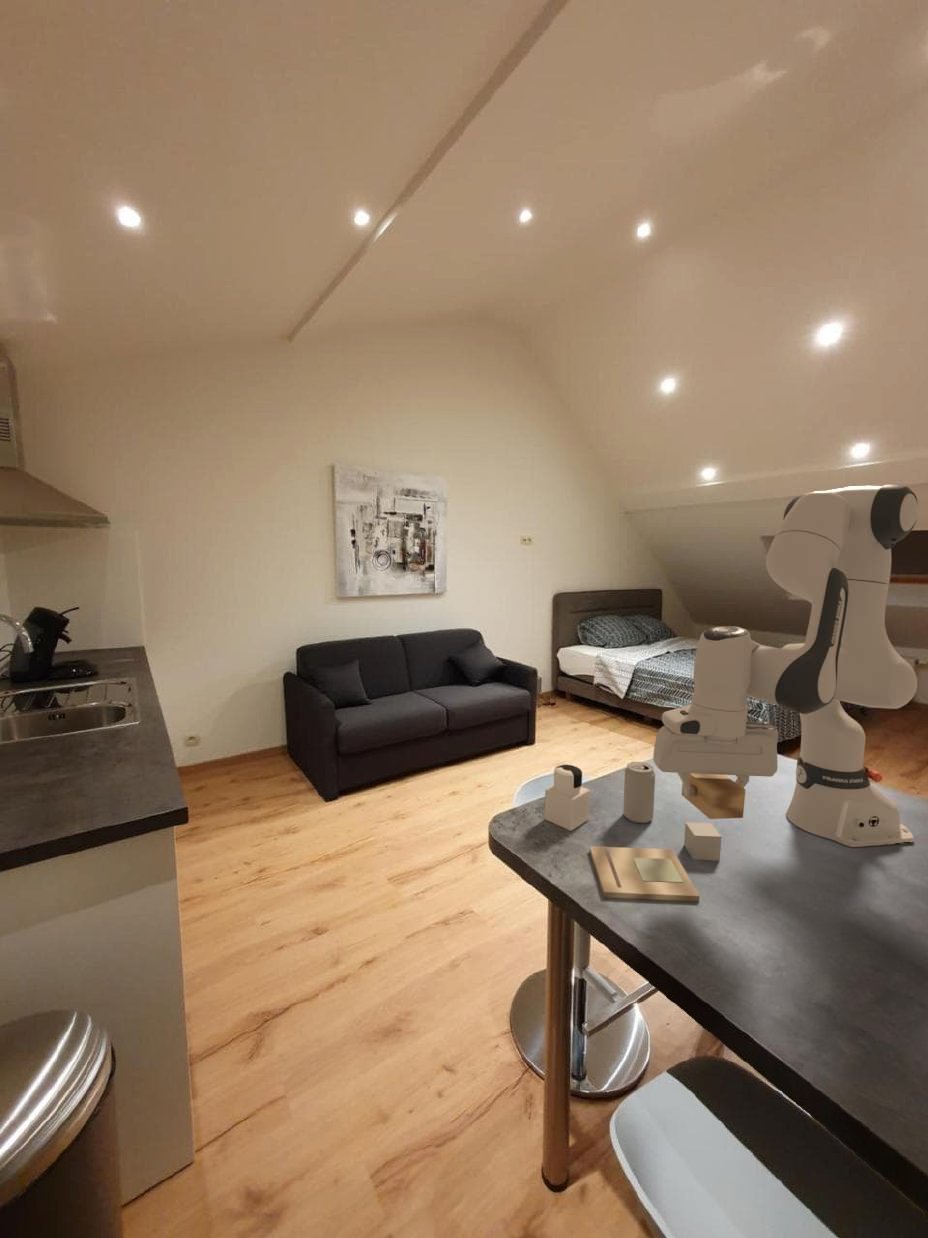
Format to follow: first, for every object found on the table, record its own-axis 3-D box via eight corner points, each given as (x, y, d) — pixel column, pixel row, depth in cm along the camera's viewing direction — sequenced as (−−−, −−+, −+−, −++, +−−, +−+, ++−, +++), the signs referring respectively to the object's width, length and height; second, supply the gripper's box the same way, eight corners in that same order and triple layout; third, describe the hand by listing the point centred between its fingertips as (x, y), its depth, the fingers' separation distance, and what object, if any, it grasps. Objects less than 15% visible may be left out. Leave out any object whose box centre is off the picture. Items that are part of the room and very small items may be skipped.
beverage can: (655, 826, 114) (657, 773, 112) (624, 823, 115) (626, 771, 113) (650, 812, 120) (653, 761, 118) (621, 809, 121) (623, 759, 119)
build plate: (672, 854, 103) (672, 849, 103) (699, 901, 89) (699, 895, 89) (589, 851, 104) (589, 846, 104) (603, 897, 90) (604, 891, 90)
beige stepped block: (562, 808, 121) (563, 759, 120) (589, 820, 116) (591, 768, 115) (543, 819, 116) (545, 768, 115) (571, 832, 111) (572, 778, 110)
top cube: (709, 846, 106) (710, 823, 106) (719, 861, 101) (721, 836, 101) (684, 845, 107) (685, 822, 106) (693, 860, 102) (694, 835, 101)
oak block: (712, 793, 98) (714, 768, 97) (742, 817, 89) (745, 789, 88) (681, 794, 97) (683, 768, 96) (709, 819, 88) (711, 790, 88)
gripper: (769, 717, 94) (762, 791, 95) (653, 712, 95) (648, 786, 96) (789, 728, 87) (781, 807, 89) (664, 723, 88) (659, 802, 90)
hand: (711, 796), depth 93 cm, fingers closed on oak block, 6 cm apart
